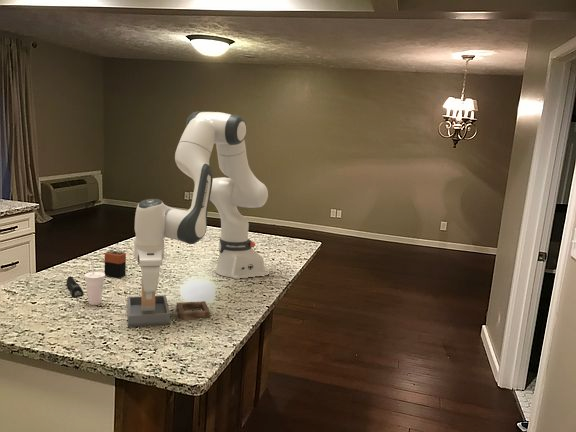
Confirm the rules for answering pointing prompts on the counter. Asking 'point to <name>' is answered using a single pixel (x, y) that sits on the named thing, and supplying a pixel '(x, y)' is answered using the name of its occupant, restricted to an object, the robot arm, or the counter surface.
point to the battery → (115, 263)
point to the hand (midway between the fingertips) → (148, 295)
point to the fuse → (145, 303)
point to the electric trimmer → (74, 287)
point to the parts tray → (148, 312)
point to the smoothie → (94, 286)
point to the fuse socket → (192, 314)
